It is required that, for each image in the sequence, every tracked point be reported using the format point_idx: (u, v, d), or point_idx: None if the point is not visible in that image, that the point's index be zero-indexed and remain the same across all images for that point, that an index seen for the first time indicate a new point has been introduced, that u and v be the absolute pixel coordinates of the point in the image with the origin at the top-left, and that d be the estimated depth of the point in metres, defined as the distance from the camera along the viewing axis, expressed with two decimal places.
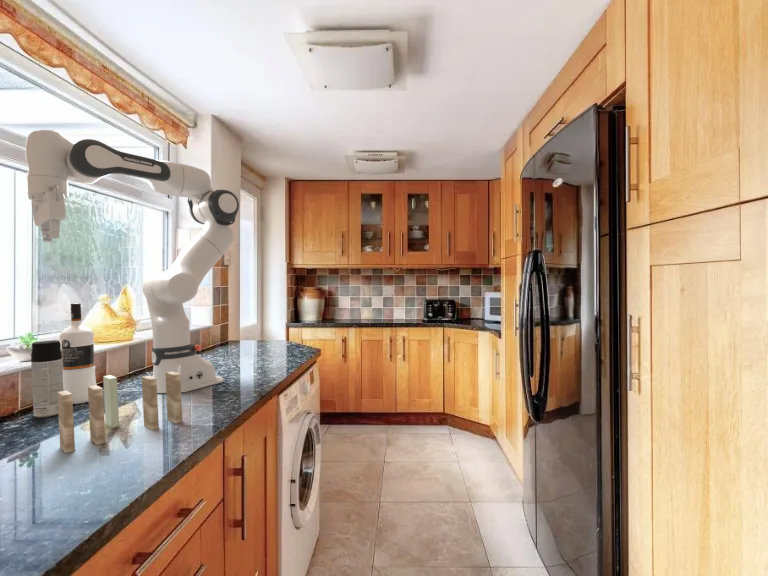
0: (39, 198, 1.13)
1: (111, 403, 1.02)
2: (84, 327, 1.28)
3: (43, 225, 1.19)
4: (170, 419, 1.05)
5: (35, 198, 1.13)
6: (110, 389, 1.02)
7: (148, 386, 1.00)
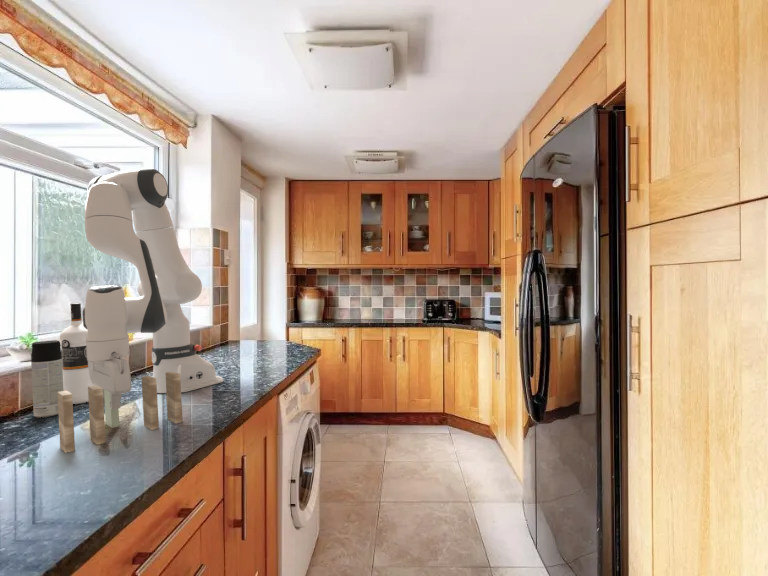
0: (100, 365, 1.01)
1: None
2: None
3: None
4: (170, 419, 1.05)
5: (95, 364, 1.01)
6: None
7: (148, 386, 0.99)
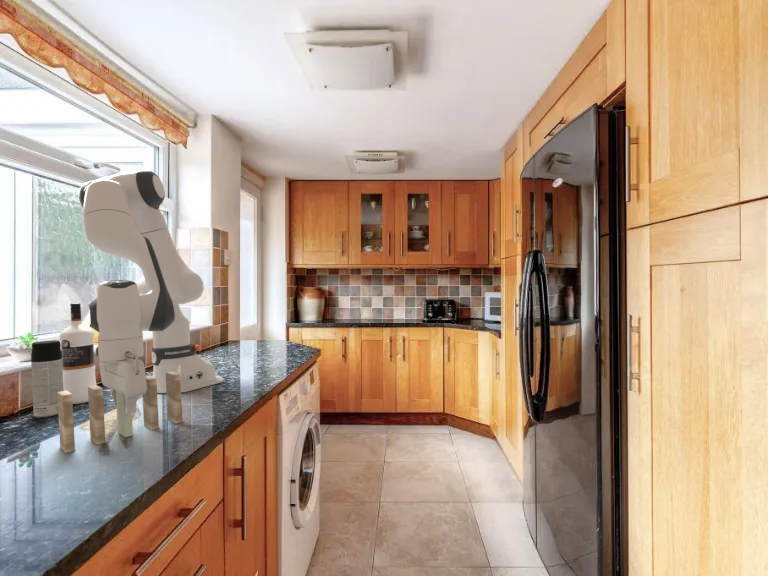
0: (113, 365, 0.94)
1: (124, 410, 0.95)
2: (84, 327, 1.28)
3: None
4: (170, 419, 1.05)
5: (108, 365, 0.94)
6: (123, 395, 0.95)
7: (148, 386, 1.00)
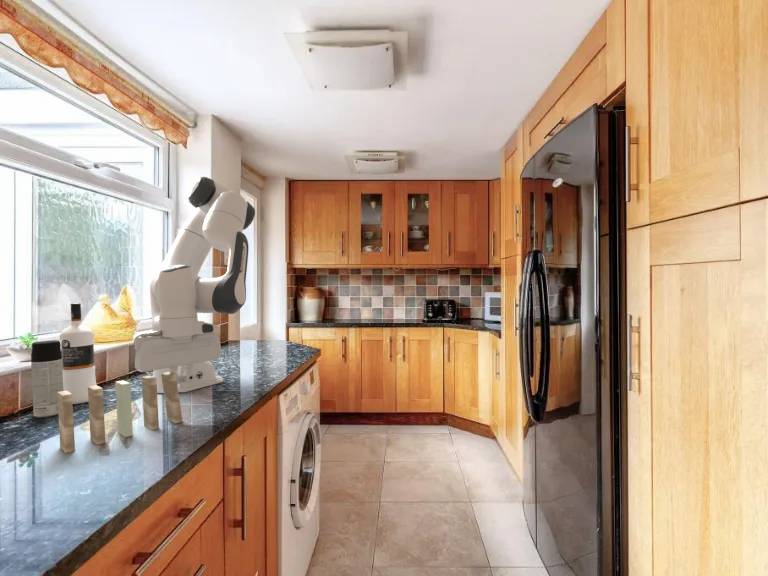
0: None
1: (124, 410, 0.95)
2: (84, 327, 1.28)
3: None
4: (170, 419, 1.05)
5: None
6: (123, 395, 0.95)
7: (148, 386, 1.00)
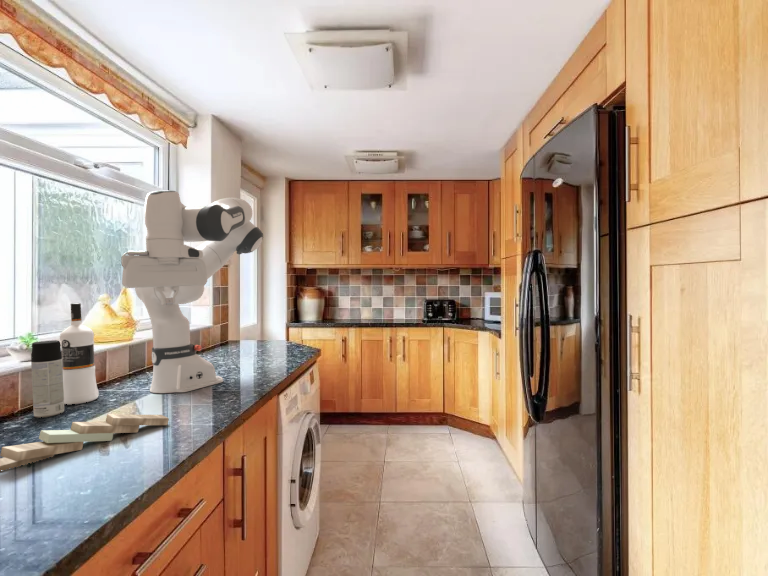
0: None
1: (81, 440, 0.89)
2: (84, 327, 1.28)
3: (171, 286, 1.12)
4: None
5: None
6: (62, 441, 0.86)
7: None
